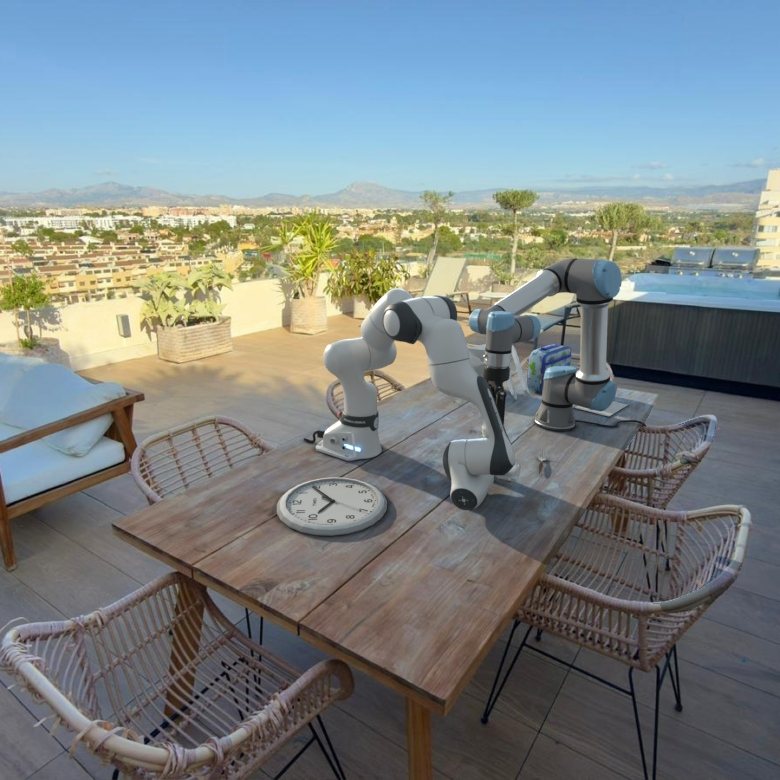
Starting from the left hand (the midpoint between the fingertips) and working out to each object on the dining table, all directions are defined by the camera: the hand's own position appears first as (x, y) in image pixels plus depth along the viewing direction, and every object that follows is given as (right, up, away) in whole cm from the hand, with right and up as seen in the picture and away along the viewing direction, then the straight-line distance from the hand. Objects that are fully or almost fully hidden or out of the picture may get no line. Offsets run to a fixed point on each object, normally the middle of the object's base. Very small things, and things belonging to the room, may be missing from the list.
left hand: (490, 456), depth 160 cm
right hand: (0, +5, -3) cm, 6 cm away
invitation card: (+61, +13, +66) cm, 91 cm away
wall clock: (-46, -11, -17) cm, 51 cm away
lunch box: (+45, +21, +90) cm, 102 cm away
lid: (0, +9, -4) cm, 10 cm away
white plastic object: (+11, +19, +83) cm, 86 cm away
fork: (+18, -4, +9) cm, 21 cm away
